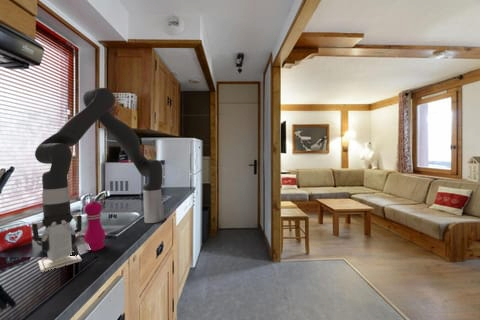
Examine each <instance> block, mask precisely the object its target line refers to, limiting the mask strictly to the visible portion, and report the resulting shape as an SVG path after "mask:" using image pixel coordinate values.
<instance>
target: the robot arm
mask: <svg viewBox="0 0 480 320" xmlns="http://www.w3.org/2000/svg"><path fill="white" fill-rule="evenodd" d="M81 99H82V103H83V104H84V108H83V109H82V110H80V111H79V112H77V113H76V114H74V115H73V116H72V117H70V119H68V120H67V121H66V122H65V123H64V124H63V125H62V126H61V127H60V128H59V129H58V131H57V132H55V133H54V134H52V135H51V136H49V137H47V138H46V139H44V140H43V141H42V142H41V143H40V144H39V145H37V147H36V148H35V150H34V156H35V159H36V160H37V162H39V163H41V164H45V165H47V164H48V165H49V164H50V168H49V170H47V171H45V172H43V173H42V176H41V182H42V183H41V184H42V193H41V195H42V198H41V199H42V200H41V201H42V212H43V217H42V220H41V221H36V222H35V221H34V222H32V223H31V230H32V236H33V237H32V238H33V240H34V242H41V244H40V245H41V251H43V252H44V253H47V252H48V246H47V240H46V239H47V238H48V236H49V228H48V226H55V225H57V224H63V225H64V226H65V227H66V228H67V230H68V231H70V230H71V241H72V246H75V244H76V242H77V238H76V234H77V233H80V232H82V221H83V220H82V215H81V214H80V213H78V214H76V215H72V214H71V213H72V212H71V193H70V189H69V177H68V176H69V172H70V168H71V163H72V159H73V154H72V150H71V148H70V147H73V146H76V145H77V144H78V142H80V141H81V139H82V138H83V137H84V135H85V134H86V133H87V132H88V130H89V129H90V128H91V127H92V126H93V125H94V124H95V123H96V122H97V121H99V122H100V124H101V125H102V126H103V127H104V128H105V130H106V131H107V132H108V133H109V134H110V135H111V136H112V137H113V139H114V140H115V141H116V143H117V144H118V146H120V148H121V149H122V150H123V152H124V153H125V154H126V155H127V156H128V158H129V159H130V160H131V162H132V163H133V164H134V167H135V168H136V169H137V171H138V172H139V174H140V175H141V177H142V176H143V177H146V178H148V181H147V183H145V184H143V185H142V195H143V217H144V218H143V219H144V221H143V222H144V224H145V223H146V224H154V223H160V222H162V221H165V219H164V218H165V215H164V213H165V211H164V203H163V202H162V200H163V199H162V185H163V164H162V163H161V161H160V160H158V159H148V158H147V157H146V156H145V155H144V154H143V152H142V150H141V141H140V139H139V136H138V135H137V134H136V132H135V131H134V130H133V128H132V127H131V126H130V125H128V124H127V123H125V122H123V121H121V120H120V119H118V118H117V117H116V116H114V115H113V113H111V111H110V110H111V109H112V108H113V107H114V105H115V104H116V99H115V95H114V93H113V92H112V91H111V89H109V88H106V87H97V88H95V89H89V90H87V91H84V92H83V93H82V95H81ZM72 220H73V221H74V222H75V224H76V226H75V228H73V227H71V224H70V225H69V224H68V222H70V223H71V222H72ZM42 225H43V226H44V227H47V228H48V230H47V231H46V230H44V232H43V234H42V235H41V236H40V235H39V229H40V228H41V226H42ZM66 225H67V226H66Z"/></svg>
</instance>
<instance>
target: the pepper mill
mask: <svg viewBox="0 0 480 320" xmlns="http://www.w3.org/2000/svg"><path fill="white" fill-rule="evenodd" d="M102 210H103V204H101V203H100V202H98V201H96V198H94V197H91V198H90V202H88V203H87V204H86V205H85V206H84V213H85V214H86V216H85V217H86V220H87V228H86V230H85V232H84V236H83V240H84V241H83V242H85V243H86V245H87V244H89V246H90V248H91V250H92V251H91V252H94V251H99V250H102V249H103V248H104V247H105V241H104V240H105V238H106V232H105V230H104V228H103V227H102V224H101V218H102V213H101V212H102Z"/></svg>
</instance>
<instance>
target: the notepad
mask: <svg viewBox="0 0 480 320" xmlns="http://www.w3.org/2000/svg"><path fill="white" fill-rule="evenodd" d="M82 260H83V259H82V257H81V256H80V255H79V254H78V255H77V256H76V255H75V256H68V257H65V258H62V259H59V260H57V261H54V262H53V261H51V260H48V257H47V258H44V259H39V260H37V262H38V267H39V270H40V273H41V272H42V273H45V272H49V271H52V270H55V269H54V268H56V269H58V268H62V267H65V265H66V266H69V265H73V264H75V263H76V264H77V263H79V262H82ZM51 269H52V270H51ZM48 270H49V271H48ZM44 271H45V272H44Z"/></svg>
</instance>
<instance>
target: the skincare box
mask: <svg viewBox="0 0 480 320" xmlns="http://www.w3.org/2000/svg"><path fill="white" fill-rule="evenodd" d="M68 224H69V225H70V226H71V222H68ZM66 226H67V225H66ZM44 227H45V226H44ZM48 228H49V236H48V238H47V239H46V240H47V246H48V252H46V254H47V258H48V260H51V261H53V262H54V261H57V260H59V259H62V258H65V257H68V256H70V255H72V252H73V245H72V241H71V230H70V231H68V230H67V228H66V227H65V226H64V225H63V224H57V225H55V226H48ZM48 228H47V227H45V228H44V229H45V230H46V231H47V230H48ZM45 230H44V231H45Z"/></svg>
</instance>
